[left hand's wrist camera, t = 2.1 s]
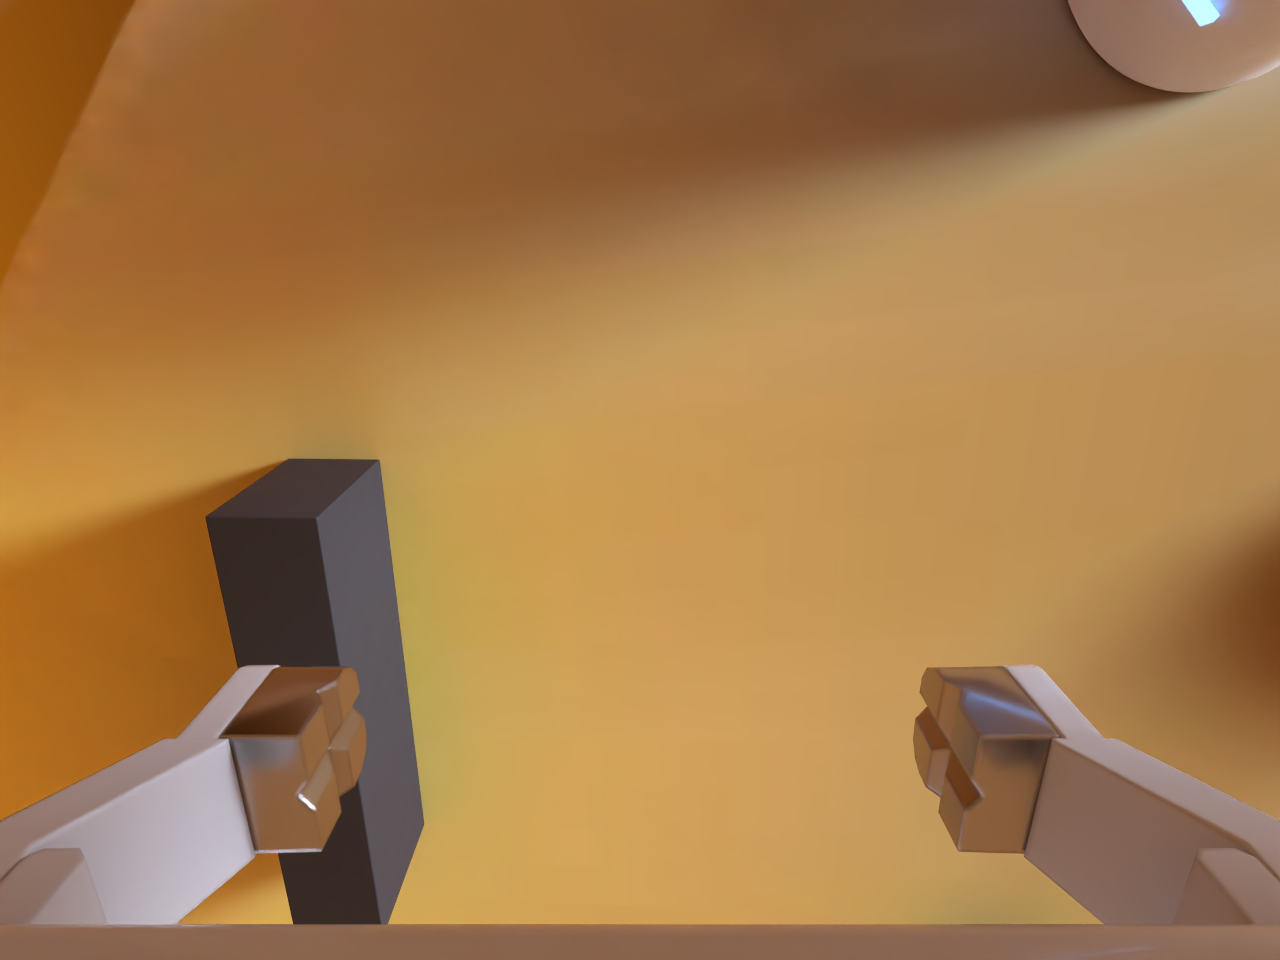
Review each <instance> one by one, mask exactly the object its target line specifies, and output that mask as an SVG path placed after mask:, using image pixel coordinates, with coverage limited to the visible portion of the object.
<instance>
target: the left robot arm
mask: <svg viewBox="0 0 1280 960" xmlns="http://www.w3.org/2000/svg"><path fill="white" fill-rule="evenodd" d="M1067 1H1068V3H1069V6H1070V8H1071V11H1072V13H1073V16H1074V18H1075V20H1076V22H1077V24H1078V26H1079V28H1080V29H1081V31H1082V33H1083V34H1084V36H1085V37H1086V39H1087V40H1088V42H1089V43H1090V45H1091V46H1092V47H1093V48H1094V49H1095V51H1096V52H1097V53H1098V54H1099V55H1100V56H1101V57H1102V58H1103V59H1104V60H1105V61H1106V62H1107V63H1108V64H1110V65H1111V66H1112V67H1113V68H1115V69H1116V70H1117V71H1119V72H1120V73H1122V74H1123V75H1125V76H1127V77H1129V78H1131V79H1132V80H1134V81H1137V82H1139V83H1141V84H1144V85H1147V86H1150V87H1153V88H1157V89H1161V90H1166V91H1173V92H1205V91H1213V90H1218V89H1223V88H1227V87H1231V86H1234V85H1237V84H1240V83H1243V82H1246V81H1249V80H1251V79H1253V78H1256V77H1258V76H1260V75H1262V74H1264V73H1266V72H1268V71H1270V70H1272V69H1274V68H1276V67H1277V66H1279V65H1280V0H1067ZM359 694H360V688H359V683H358V678H357V672H355V671H354V670H353V669H352V668H351V667H345V666H297V665H282V666H279V665H247V666H244V667H240V668H238V669H237V670H236V672H235V673H234V674H233V675H232V676H231V677H230V678H229V679H228V681H227V682H226V683H225V684H224V685H223V686H222V687H221V688H220V690H219V691H218V692H217V693H216V694H215V695H214V696H213V697H212V698H211V700H210V701H209V702H208V703H207V704H206V705H205V706H204V707H203V709H202V710H201V711H200V712H199V713H198V714H197V715H196V716H195V718H194V719H193V720H192V721H191V722H190V723H189V724H188V725H187V726H186V728H185V729H184V730H183V731H182V732H181V733H180V734H179V735H178V737H177V738H176V739H162V740H160V741H158V742H156V743H154V744H152V745H150V746H148V747H146V748H144V749H142V750H140V751H138V752H136V753H134V754H132V755H130V756H128V757H126V758H124V759H122V760H120V761H118V762H116V763H114V764H112V765H110V766H108V767H106V768H104V769H102V770H100V771H98V772H96V773H94V774H92V775H90V776H88V777H86V778H84V779H82V780H80V781H78V782H76V783H74V784H72V785H70V786H68V787H66V788H64V789H62V790H60V791H58V792H56V793H54V794H52V795H50V796H48V797H46V798H44V799H42V800H40V801H38V802H36V803H34V804H32V805H30V806H28V807H26V808H24V809H22V810H20V811H18V812H16V813H14V814H12V815H10V816H8V817H6V818H4V819H2V820H0V960H1280V821H1279V820H1277V819H1275V818H1273V817H1271V816H1269V815H1267V814H1265V813H1263V812H1261V811H1259V810H1257V809H1255V808H1253V807H1251V806H1249V805H1247V804H1245V803H1243V802H1241V801H1239V800H1237V799H1235V798H1233V797H1231V796H1229V795H1227V794H1225V793H1223V792H1221V791H1219V790H1217V789H1215V788H1213V787H1211V786H1209V785H1207V784H1205V783H1203V782H1201V781H1199V780H1197V779H1195V778H1193V777H1191V776H1189V775H1188V774H1186V773H1184V772H1182V771H1180V770H1178V769H1176V768H1174V767H1172V766H1170V765H1168V764H1166V763H1164V762H1162V761H1160V760H1158V759H1156V758H1154V757H1152V756H1150V755H1148V754H1146V753H1144V752H1142V751H1140V750H1138V749H1136V748H1134V747H1132V746H1130V745H1128V744H1126V743H1124V742H1122V741H1120V740H1118V739H1104V738H1103V737H1102V735H1101V734H1100V733H1099V732H1098V731H1097V730H1096V729H1095V728H1094V727H1093V725H1092V724H1091V723H1090V722H1089V721H1088V720H1087V719H1086V718H1085V716H1084V715H1083V714H1082V713H1081V712H1080V711H1079V710H1078V709H1077V707H1076V706H1075V705H1074V704H1073V703H1072V702H1071V701H1070V700H1069V699H1068V697H1067V696H1066V695H1065V694H1064V693H1063V692H1062V691H1061V690H1060V688H1059V687H1058V686H1057V685H1056V684H1055V683H1054V682H1053V681H1052V679H1051V678H1050V677H1049V676H1048V675H1047V674H1046V673H1045V672H1044V670H1043V669H1041V668H1039V667H1037V666H1035V665H1005V666H993V667H933V668H926V670H925V672H924V674H923V676H922V681H921V687H920V694H921V696H922V697H923V699H924V701H925V703H926V704H927V707H926V708H925V709H924V710H923V711H922V712H921V713H920V714H919V715H918V716H917V717H916V719H915V727H914V735H913V742H914V753H915V760H916V763H917V767H918V770H919V773H920V776H921V778H922V780H923V782H924V784H925V786H926V787H927V788H928V789H929V790H931V791H932V792H934V793H935V794H937V795H938V796H939V797H941V800H940V806H939V814H940V816H941V818H942V820H943V822H944V824H945V826H946V828H947V830H948V832H949V834H950V836H951V838H952V840H953V842H954V844H955V846H956V848H957V850H958V852H987V853H1022V854H1025V855H1024V857H1025V858H1026V859H1028V860H1029V861H1030V862H1031V863H1032V864H1033V865H1035V866H1036V867H1037V868H1038V869H1039V870H1041V871H1042V872H1043V873H1044V874H1045V875H1047V876H1048V877H1049V878H1050V879H1051V880H1052V881H1054V882H1055V883H1056V884H1057V885H1058V886H1060V887H1061V888H1062V889H1063V890H1064V891H1066V892H1067V893H1068V894H1069V895H1070V896H1072V897H1073V898H1074V899H1075V900H1076V901H1077V902H1079V903H1080V904H1081V905H1082V906H1083V907H1085V908H1086V909H1087V910H1088V911H1089V912H1091V913H1092V914H1093V915H1094V916H1095V917H1096V918H1098V919H1099V920H1100V921H1101V922H1102V923H1104V924H884V925H669V924H239V925H220V924H177V923H178V922H179V921H180V920H181V919H183V918H184V917H185V916H186V915H187V914H188V913H190V912H191V911H192V910H193V909H194V908H196V907H197V906H198V905H199V904H200V903H202V902H203V901H204V900H205V899H206V898H208V897H209V896H210V895H211V894H212V893H214V892H215V891H216V890H217V889H218V888H219V887H221V886H222V885H223V884H224V883H225V882H227V881H228V880H229V879H230V878H231V877H233V876H234V875H235V874H236V873H237V872H239V871H240V870H241V869H242V868H243V867H244V866H246V865H247V864H248V863H249V862H250V861H252V860H253V859H254V858H255V857H256V855H255V854H257V853H292V852H322V850H323V848H324V846H325V844H326V842H327V840H328V838H329V836H330V834H331V832H332V830H333V828H334V826H335V824H336V822H337V820H338V818H339V816H340V814H341V806H340V800H339V797H341V796H342V795H343V794H345V793H346V792H348V791H349V790H351V789H352V788H353V787H354V786H355V784H356V782H357V780H358V777H359V775H360V773H361V771H362V767H363V762H364V758H365V753H366V736H367V733H366V726H365V719H364V717H363V716H362V715H361V714H360V713H359V712H358V711H357V710H356V709H355V708H354V707H353V704H354V703H355V701H356V699H357V697H358V696H359Z"/></svg>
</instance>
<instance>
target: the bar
mask: <svg viewBox="0 0 1280 960" xmlns="http://www.w3.org/2000/svg"><path fill="white" fill-rule="evenodd" d="M206 523H207V527H208V532H209V537H210V541H211V546H212V550H213V555H214V560H215V564H216V569H217V574H218V578H219V583H220V587H221V592H222V597H223V601H224V606H225V610H226V615H227V620H228V624H229V629H230V634H231V638H232V643H233V647H234V652H235V657H236V661H237V666H238V668H240V667H244V666H247V665H279V666H282V665H297V666H345V667H351V668H352V669H353V670H354V671H355V672H357V678H358V683H359V688H360V694H359V696H358V697H357V699H356V701H355V703H354V704H353V707H354V708H355V709H356V710H357V711H358V712H359V713H360V714H361V715H362V716H363V717H364V719H365V726H366V733H367V736H366V753H365V758H364V762H363V767H362V771H361V773H360V775H359V777H358V780H357V782H356V784H355V786H354V787H353V788H352V789H351V790H349V791H348V792H346V793H345V794H343V795H342V796H341V797H339V800H340V806H341V814H340V816H339V818H338V820H337V822H336V824H335V826H334V828H333V830H332V832H331V834H330V836H329V838H328V840H327V842H326V844H325V846H324V848H323V850H322V852H292V853H278V855H279V860H280V865H281V869H282V874H283V878H284V883H285V888H286V892H287V897H288V902H289V906H290V911H291V915H292V920H293V924H388V922H389V919H390V916H391V913H392V911H393V908H394V905H395V902H396V900H397V897H398V894H399V892H400V889H401V886H402V883H403V881H404V878H405V875H406V872H407V870H408V867H409V864H410V861H411V859H412V856H413V853H414V850H415V848H416V845H417V842H418V840H419V837H420V834H421V831H422V829H423V826H424V819H423V811H422V803H421V795H420V786H419V778H418V770H417V762H416V754H415V746H414V738H413V729H412V721H411V713H410V705H409V697H408V689H407V680H406V672H405V664H404V656H403V648H402V640H401V632H400V623H399V615H398V607H397V599H396V591H395V583H394V575H393V566H392V558H391V550H390V542H389V534H388V526H387V517H386V509H385V501H384V493H383V485H382V477H381V469H380V461H379V460H346V459H288V460H286V461H285V462H283V463H282V464H281V465H279V466H278V467H276V468H275V469H273V470H272V471H270V472H269V473H268V474H266V475H265V476H263V477H262V478H260V479H259V480H257V481H256V482H255V483H253V484H252V485H250V486H249V487H247V488H246V489H245V490H243V491H242V492H240V493H239V494H237V495H236V496H234V497H233V498H232V499H230V500H229V501H227V502H226V503H224V504H223V505H221V506H220V507H219V508H217V509H216V510H214V511H213V512H211V513H210V514H209V515H207V516H206Z"/></svg>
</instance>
